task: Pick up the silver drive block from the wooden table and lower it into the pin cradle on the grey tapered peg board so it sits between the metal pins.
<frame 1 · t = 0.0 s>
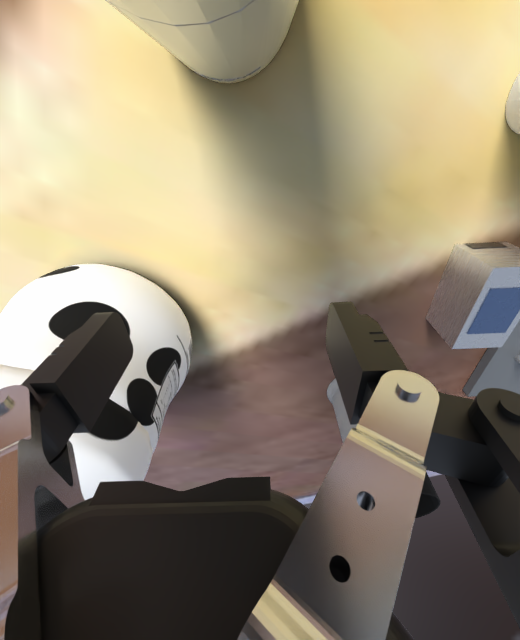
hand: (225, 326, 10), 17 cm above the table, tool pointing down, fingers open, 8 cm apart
milk container: (125, 320, 32), on the table
drive: (461, 282, 29), on the table
white and black mug: (375, 382, 39), on the table
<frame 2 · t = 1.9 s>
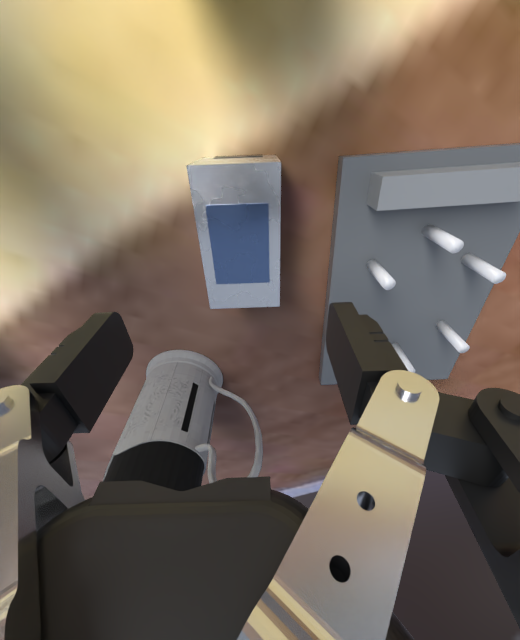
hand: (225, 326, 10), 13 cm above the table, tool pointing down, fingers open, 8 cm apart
grey tapered peg board: (402, 290, 25), on the table
drive: (243, 222, 21), on the table
white and black mug: (204, 368, 31), on the table
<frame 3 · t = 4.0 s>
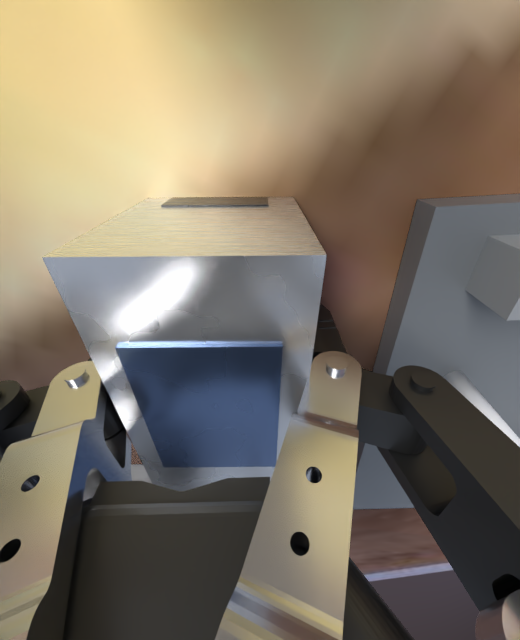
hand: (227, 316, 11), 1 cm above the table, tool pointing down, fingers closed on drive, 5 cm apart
grey tapered peg board: (487, 400, 15), on the table
drive: (229, 308, 12), on the table, touching gripper
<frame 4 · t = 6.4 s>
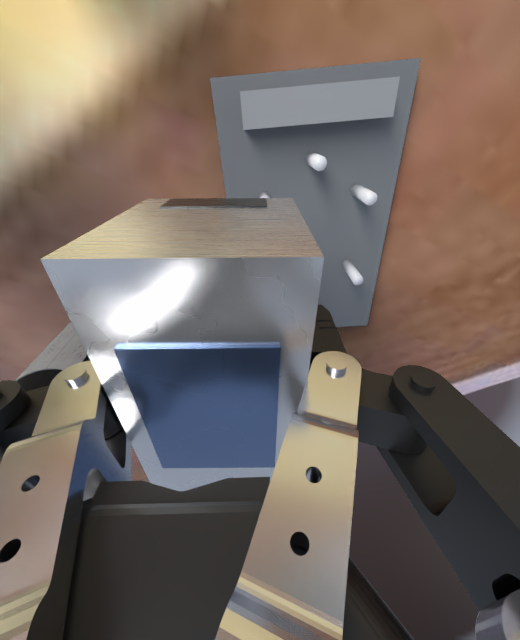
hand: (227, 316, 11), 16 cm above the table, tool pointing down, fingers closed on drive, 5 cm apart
grey tapered peg board: (306, 229, 25), on the table
drive: (229, 308, 12), point 15 cm above the table, touching gripper
white and black mug: (131, 320, 31), on the table
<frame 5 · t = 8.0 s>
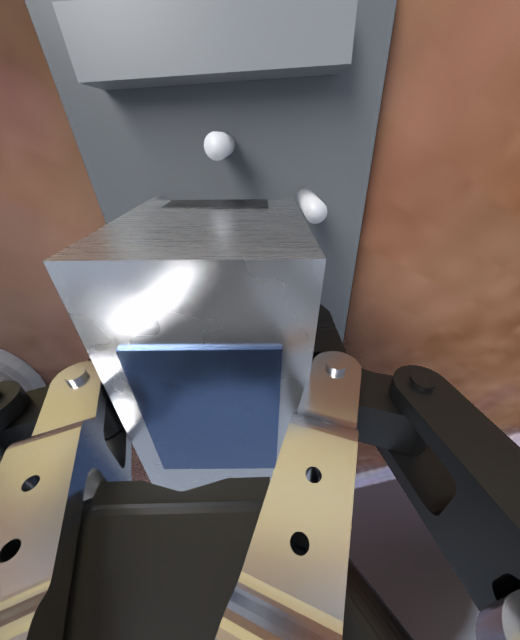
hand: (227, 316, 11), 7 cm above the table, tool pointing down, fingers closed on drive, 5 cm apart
grey tapered peg board: (239, 253, 17), on the table
drive: (229, 309, 12), point 6 cm above the table, touching gripper
white and black mug: (14, 367, 23), on the table
when the fingers open (3 cm above the table, at t = 9.2 s): drive drops 1 cm, resting on grey tapered peg board.
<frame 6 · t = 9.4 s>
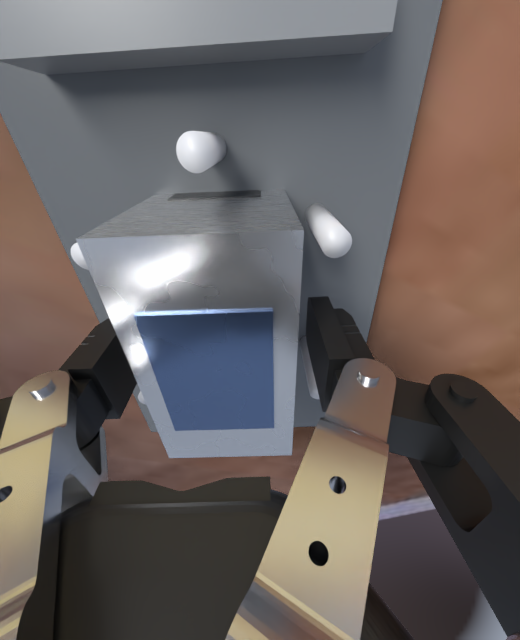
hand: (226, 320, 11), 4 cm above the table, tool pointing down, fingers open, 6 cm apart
grey tapered peg board: (233, 280, 14), on the table
drive: (230, 293, 13), point 1 cm above the table, touching grey tapered peg board
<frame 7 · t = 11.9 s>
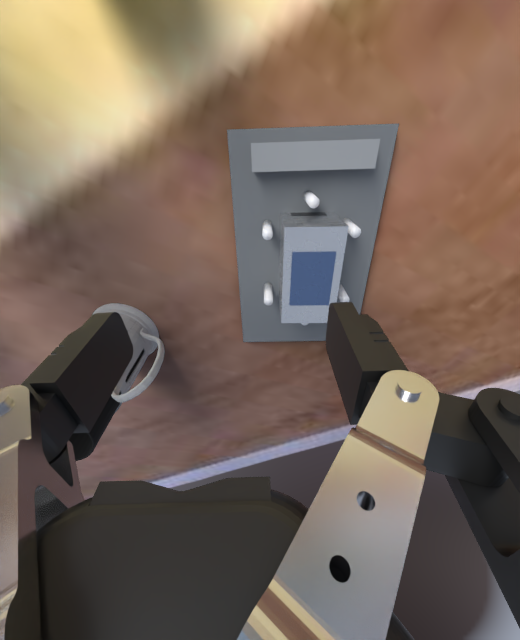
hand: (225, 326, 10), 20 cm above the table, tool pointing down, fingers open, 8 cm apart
grey tapered peg board: (302, 252, 29), on the table
drive: (303, 257, 28), point 1 cm above the table, touching grey tapered peg board
white and black mug: (142, 324, 35), on the table
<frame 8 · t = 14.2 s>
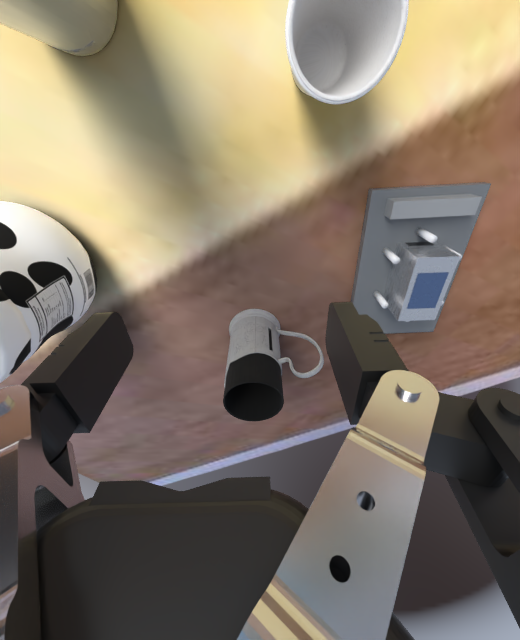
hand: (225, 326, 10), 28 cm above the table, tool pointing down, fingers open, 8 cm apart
milk container: (43, 259, 39), on the table
grey tapered peg board: (403, 268, 39), on the table
drive: (406, 272, 38), point 1 cm above the table, touching grey tapered peg board
dixie cup: (319, 60, 27), on the table
white and black mug: (269, 323, 45), on the table
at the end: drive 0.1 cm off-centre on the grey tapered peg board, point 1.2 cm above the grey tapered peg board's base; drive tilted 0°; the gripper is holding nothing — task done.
